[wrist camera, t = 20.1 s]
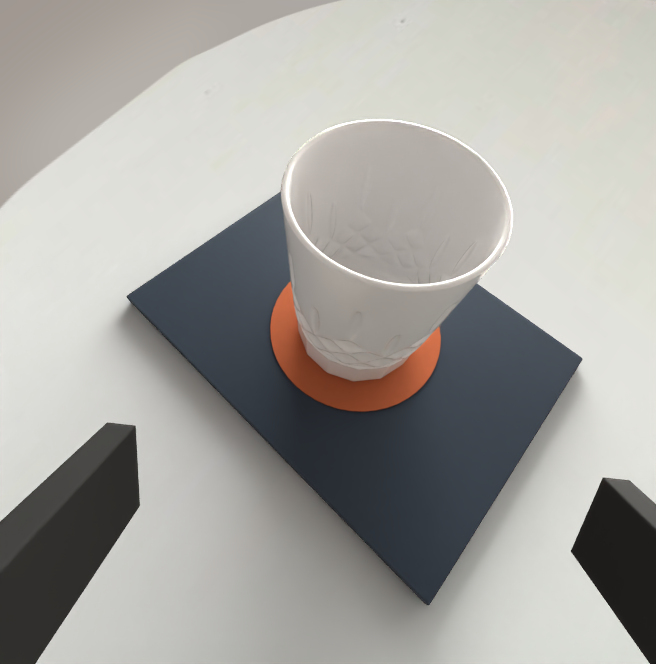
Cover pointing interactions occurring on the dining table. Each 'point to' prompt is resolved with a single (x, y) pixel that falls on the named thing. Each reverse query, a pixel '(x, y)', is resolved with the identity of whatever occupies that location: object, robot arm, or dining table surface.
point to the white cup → (386, 239)
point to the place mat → (366, 397)
